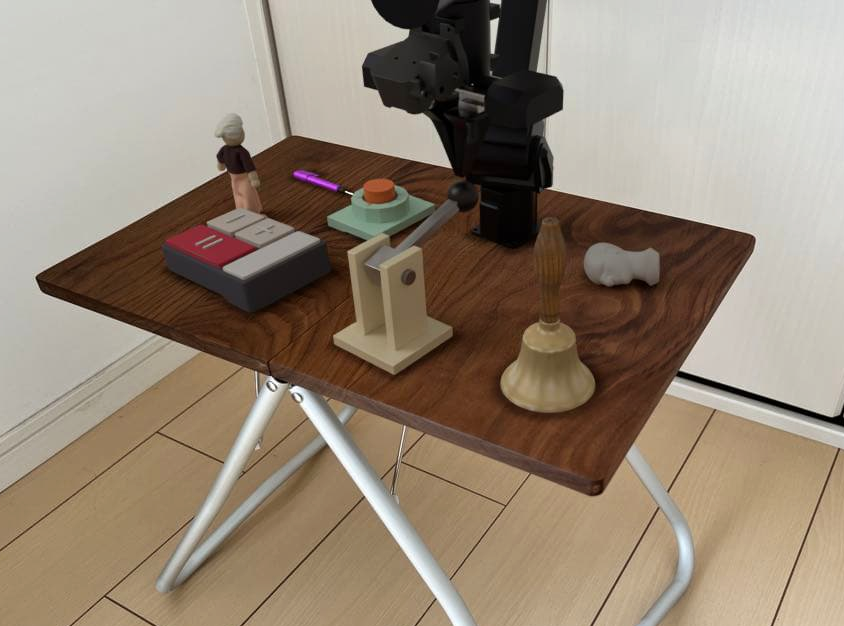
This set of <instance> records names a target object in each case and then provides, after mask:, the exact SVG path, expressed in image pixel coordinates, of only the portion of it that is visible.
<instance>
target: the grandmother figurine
mask: <svg viewBox="0 0 844 626" xmlns="http://www.w3.org/2000/svg"><path fill="white" fill-rule="evenodd" d="M243 125H244V122H243V120H242V117H241V116H240V115H238V114H236V113H234V112H232V113H228V114H225V115H223V116H222V117H221V118H220V119H219V120H218V122H217V124H216V126H215V130H214V133H213V135H214V137H215V138H217V139H220V138H221V140H222V141H223V142H224V143H225V144H224V145H223V146H221V147H220V149H219V150H218V152H217V153H216V156H215V157H216V160H217V161H216V162H217V164H216V168H217V170H218V171H220V172H224V171H225V170H226V171H227V172H228V174H229V175H230V179H231V188H232V194H233V199H234V202H235V209H238V208H243V209H246V210H248V211H251V212H254V213H256V214H259V215H262V216H264V217H265V219H268V218H269V216H268V215H266V214H265V213H261V212H262V211H263V206H262V202H261V200H260V196H259V193H258V190H257V189H258V188H260V187H261V181H260V180H259V175H258V173H257V168H256V166H255V163H254V162H253V159H252V156H251V153H250V151H249V150H248V149H247V148H246V147H244V146H243V145H242V144H243V143H244V142H245V138H246V133H245V130H244V128H243Z"/></svg>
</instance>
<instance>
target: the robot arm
mask: <svg viewBox="0 0 844 626" xmlns="http://www.w3.org/2000/svg"><path fill="white" fill-rule="evenodd" d="M370 2H371V4H372V6H373V8H374V9H375V11H376V12H377V13H378V15H379V16H380V17H381V18H382V19H383V20H384V21H385V22H387V23H388V24H390V25H392V27H396V28H397V29H401V30H408V36H407V37H406V38H404V39H403V40H401V41H397V42H395V43H391V44H389V45H386V46H384V47H381V48H378V49H375V50H373V51H370V52H368V53H367V54H366V57H365V58H364V60H363V63H362V65H361V72H362V80H363V82H362V83H363V87H364V88H367V89H371V90H373V91H374V90H375V91H377V92H378V95H379V98H380V100H381V103H382V105H383V106H384V107H386V108H389V109H391V108H395V109H397V110H401V111H404V112H406V114H410V115H415V116H417V115H420V114H423V115H425V116H426V117H427V118H428V119H430V121H431V122H432V125H433V127H434V128H435V131H436V133H437V135H438V137H439V139H440V142H441V144H442V146H443V149H444V151H445V154H446V157H447V159H448V162H449V163H450V167H451V169H452V171H453V175H454V176H456V177H459V178H465V180H467V181H470V182H471V183H473V184H474V185H475V186H480V188H479V189H480V201H479V204H478V205H479V207H478V208H479V224H477V225H476V226H474V227H472V228H471V229H470V234H471V235H473V236H475V237H478V238H480V239H484V240H486V241H489V242H492V243H494V244H497V245H500V246H502V247H506V248H508V249H511V250H516V249H518V248H520V247H521V246H523V245H525V244H526V243H528V242H529V241H531V240H533V239H534V238H537V236H538V234H539V231H540V228H541V225H542V221H539V220H538V196H539V195H538V194H541V193H542V191H543V190H546V189H549V188H550V189H551V188H552V187H553V185H554V169H555V167H554V159H555V158H554V155H553V152H552V150H551V148H550V146H549V142H548V141H547V139H546V137H545V135H544V133H545V119H548V118H550V117H551V116H553V115H556V114H557V113H559V112H561V111H563V110H564V94H565V93H564V92H565V91H564V87H563V84H562V82H561V80H560V79H559V78H558V77H557V75H556V76H555V75H552V74H548V73H543V72H538V68H539V67H538V66H539V59H540V54H541V53H540V52H541V46H542V38H543V32H544V31H543V30H544V24H545V23H544V22H545V17H546V11H547V3H548V0H500V4H499V3H494V2H491V0H370ZM497 19H498V22H497V29H496V37H495V42H494V43H495V45H494V50H493V52H492V49H491V48H492V41H491V39H492V37H491V36H492V35H491V32H492V31H491V30H492V29H491V28H492V27H491V21H494V20H497Z"/></svg>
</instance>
